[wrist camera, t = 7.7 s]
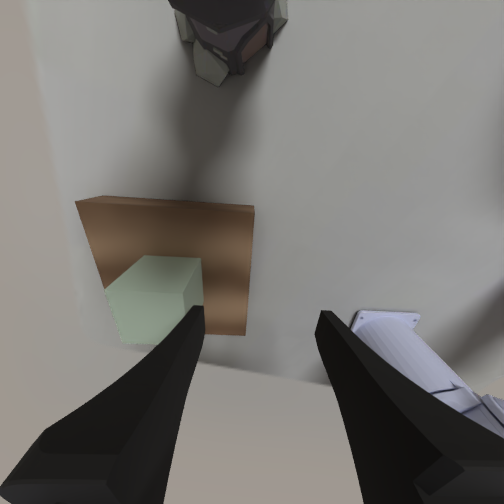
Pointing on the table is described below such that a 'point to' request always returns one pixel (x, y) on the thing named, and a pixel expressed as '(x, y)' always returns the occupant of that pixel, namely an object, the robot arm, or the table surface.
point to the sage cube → (154, 297)
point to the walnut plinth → (178, 247)
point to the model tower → (227, 32)
